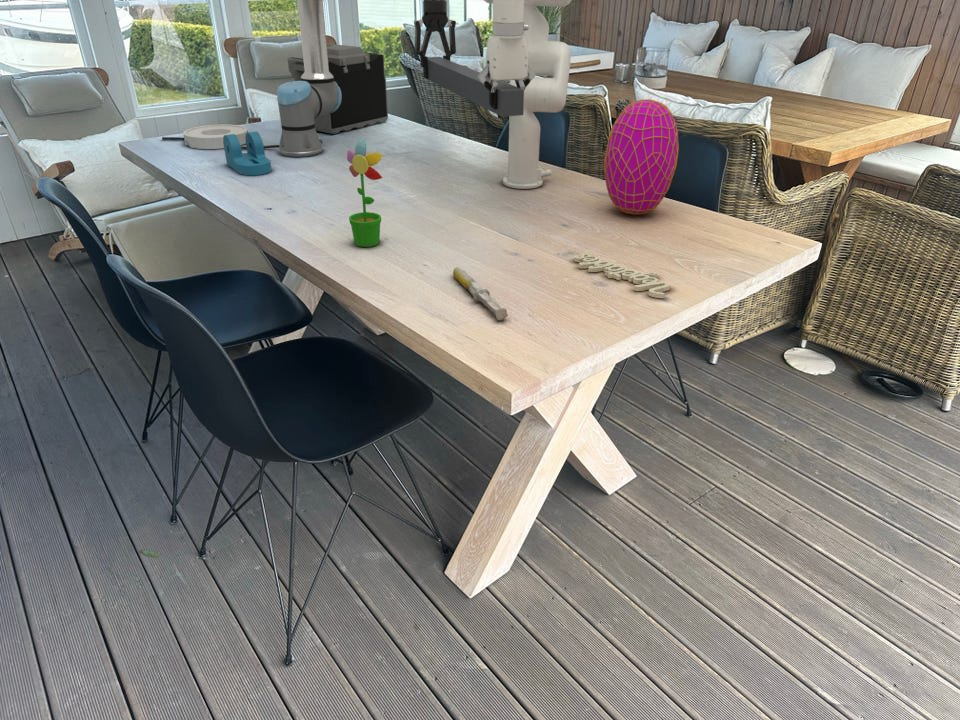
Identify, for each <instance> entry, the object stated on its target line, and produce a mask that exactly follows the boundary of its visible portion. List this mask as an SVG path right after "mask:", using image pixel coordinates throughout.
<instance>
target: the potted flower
mask: <svg viewBox="0 0 960 720" xmlns="http://www.w3.org/2000/svg"><path fill="white" fill-rule="evenodd" d="M382 158H383V154H382V153H379V152H370V153H368V154H367V138H363V139H361V140H360V141H359V142H357V144H356V145H355V150H354V151H353V150H352V149H348V150H347V155H346V160H347V162H348V163H349V164H351V165H350V166H349V167H348V170H349V172H350V173H351V175H352V177H354V178H357V177H358V176H359V175H360V186H361V187H356V188H357V191H356V192H357V193H358V194H359V195H360V196H361V199H362V212H356V213H353V214H351V215H350V216H349V217H348V220H349V224H350V226H351V227H350V228H351V232H352V237H353V243H354V244H355V246H358V247H363V248H368V247H375V246H377V245H379V243H380V241H381V240H380V238H381V235H380V234H381V223H382V215H381V214H380V213H378V212H377V213H376V212H373V211H371V212H369V211H367V207H366V205H372V204H373V203H374V202H375V199H374V198H373V197H371V196H366V194H365V179H364V176H365V177H366V178H367V179H369V180H371V181H377V180H381V179H382V178H383V176H382V175H381V173H380V172H378V170H376V169H375V168H373V167H374V166H376V165H377V164H379V163H380V161H381V159H382Z"/></svg>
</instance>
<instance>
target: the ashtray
mask: <svg viewBox="0 0 960 720" xmlns="http://www.w3.org/2000/svg"><path fill="white" fill-rule="evenodd" d="M247 132H249V129H248V127H246V126H244V125H240V124H227V123H226V124H225V123H223V124H207V125H200V126H194V127H190V128H188V129H186V130H184V131H183V132H182V133H183V138H184V140H183V141H184V144H185V146H186V147H189V148H191V149H199V150H219V149H220V150H221V149H224V144H223V137H224V135H230V134H235V135H236V136H237V138H238V140H239V142H240V146H244V145H246V139H245V137H246V133H247Z"/></svg>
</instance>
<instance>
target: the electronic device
mask: <svg viewBox="0 0 960 720" xmlns="http://www.w3.org/2000/svg"><path fill="white" fill-rule="evenodd" d="M327 55H328V66H329V72H330V73H331V74H332V75H333V76H334V81H335V82H336V83H337V84H338V85H337V86H338V87H340V90H341V94H342V100H341V104H340V106H339V108H338V109H337V110H336V111H334V112H332V113H330V114H328V115H323V116H320V117H316V118H314V122H315V130H316V132H321V133H324V134H330V135H337V134H339V133H340V132H349V131H351V130H352V129H362V128H365V126H368V127H369V126H374V125H375V124H376V123H379V124H382V123H383V124H384V123H385V122H387V121H388V119H389V110H388V109H389V108H388V93H387V91H388V90H387V79H386V70H385V56H384V55H385V54H381V53H372V52H364V50H363V48H362V46H353V45H346V44H345V45H344V44H335V43H332V44H327ZM287 67H288V71H289V73H290V75H291V76H292V78H293V81H301V76H302V75H303V74H304V72H305V69H304V60H303V57H294V56H292V57H287Z"/></svg>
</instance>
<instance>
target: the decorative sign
mask: <svg viewBox="0 0 960 720" xmlns="http://www.w3.org/2000/svg"><path fill="white" fill-rule="evenodd" d="M574 262H575V263H578V269H588V270H587V272H588V273H598V272H603V273H604V276H606V277H607V278H608V279H614V280H617V281H621V279H622V280H627V281H628V282H630V283H633V284H634V285H633V291H636V292H643V291H647V290H648V293H647V294H648V296H649V297H652V298H656V299H664V298H665V295H666V292H668V291H669V290H670V289H671V283H670V282H668V281H659V279H658V272H657V271H648V272H639V271H637V270H634V269H630V268H628V267H627V266H626V267H625V266H624V265H619V264H618V263H615V262H611V261H610V260H604V258H601V257H598V256H596V255H592V254H590V253H587V252H586V253H582V254H581V255H580V256H578V255H575V256H574Z"/></svg>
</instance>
